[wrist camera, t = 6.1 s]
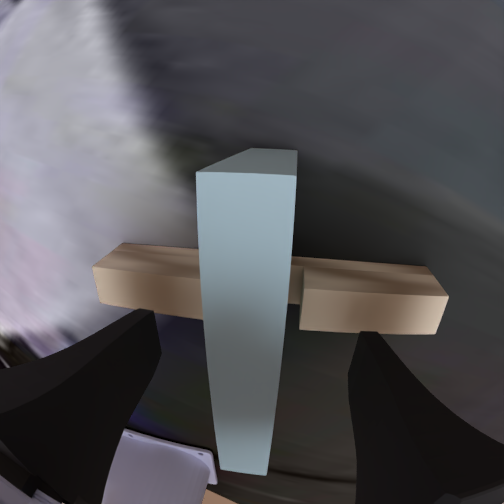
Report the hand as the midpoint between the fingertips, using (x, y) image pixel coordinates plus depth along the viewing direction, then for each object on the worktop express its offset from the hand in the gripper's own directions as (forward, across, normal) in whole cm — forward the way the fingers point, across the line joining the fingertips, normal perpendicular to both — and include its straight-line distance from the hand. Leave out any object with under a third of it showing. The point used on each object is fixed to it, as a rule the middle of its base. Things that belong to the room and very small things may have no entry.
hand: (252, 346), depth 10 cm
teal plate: (+5, 0, 0) cm, 5 cm away
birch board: (+5, 0, 0) cm, 5 cm away
